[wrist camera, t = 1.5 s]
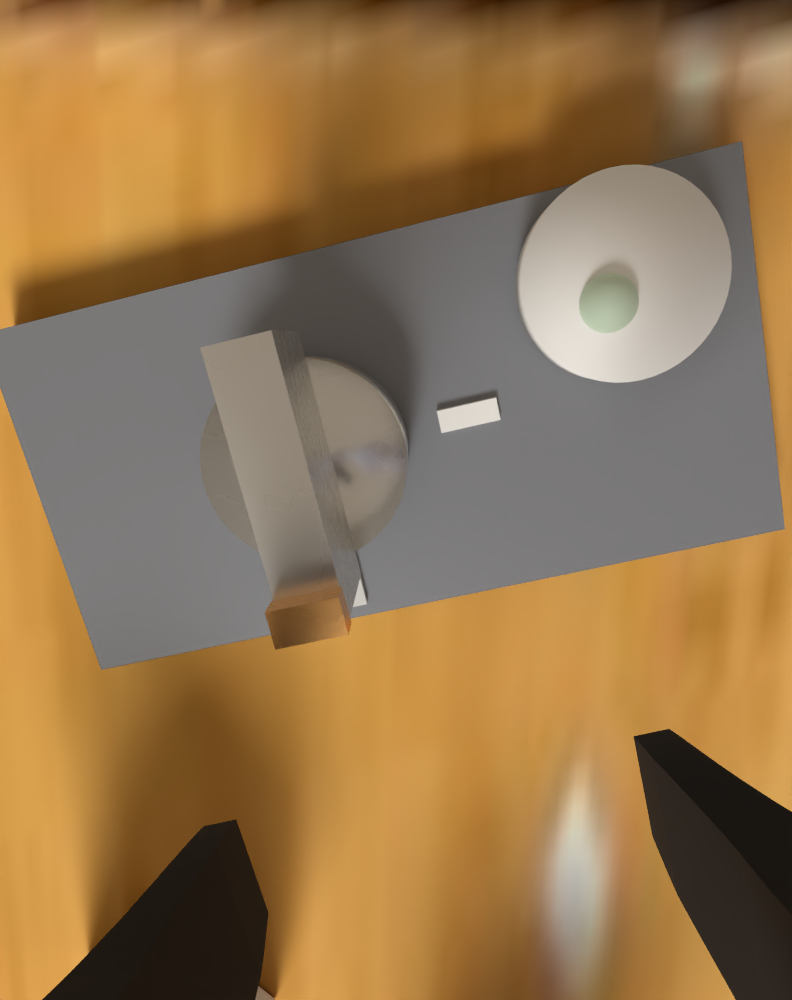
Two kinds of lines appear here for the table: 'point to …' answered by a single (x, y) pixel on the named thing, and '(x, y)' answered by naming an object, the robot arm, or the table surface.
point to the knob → (301, 473)
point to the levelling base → (428, 403)
